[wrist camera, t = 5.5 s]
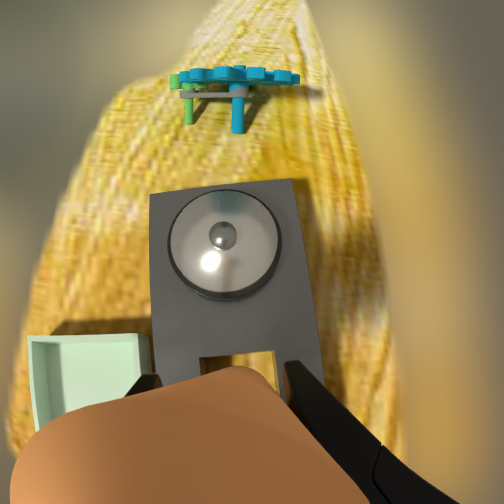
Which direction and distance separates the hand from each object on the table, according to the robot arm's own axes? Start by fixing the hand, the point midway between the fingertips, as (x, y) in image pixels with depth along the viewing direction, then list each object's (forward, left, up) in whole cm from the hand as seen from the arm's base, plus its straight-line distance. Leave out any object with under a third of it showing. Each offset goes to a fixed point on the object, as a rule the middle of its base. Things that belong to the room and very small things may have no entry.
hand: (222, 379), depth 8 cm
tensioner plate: (+3, 0, -13) cm, 14 cm away
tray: (-3, +10, -13) cm, 17 cm away
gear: (+22, -2, -14) cm, 26 cm away
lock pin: (-1, 0, -7) cm, 7 cm away
